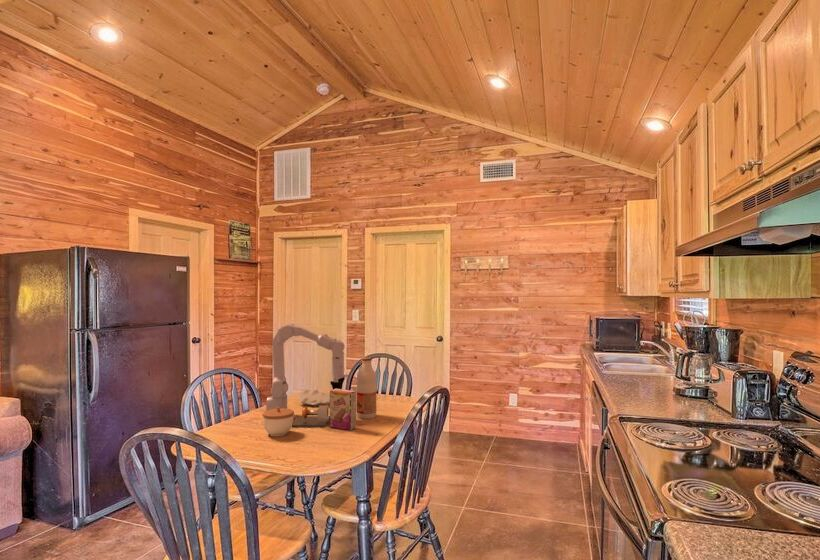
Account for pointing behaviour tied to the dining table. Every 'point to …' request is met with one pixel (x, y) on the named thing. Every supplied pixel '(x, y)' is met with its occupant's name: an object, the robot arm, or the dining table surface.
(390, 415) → the dining table surface
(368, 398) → the fruit juice
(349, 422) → the candy bar box
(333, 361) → the robot arm
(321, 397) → the food container
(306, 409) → the shaft
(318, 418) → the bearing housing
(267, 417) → the lidded bowl
